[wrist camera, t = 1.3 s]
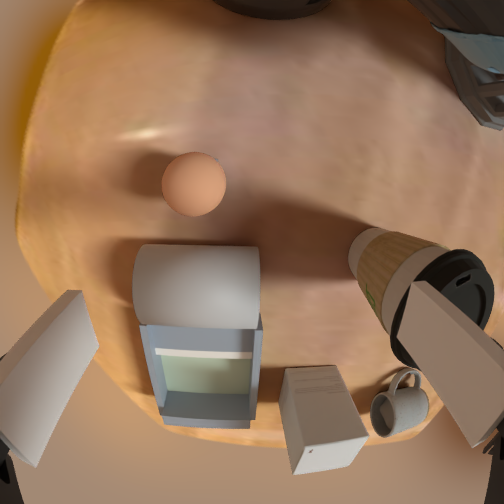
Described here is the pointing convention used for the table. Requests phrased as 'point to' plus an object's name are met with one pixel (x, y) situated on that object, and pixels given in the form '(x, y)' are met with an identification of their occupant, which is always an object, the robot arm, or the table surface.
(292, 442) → the supplement box
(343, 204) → the table surface
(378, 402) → the ceramic mug
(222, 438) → the table surface
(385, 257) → the coffee cup
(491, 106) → the lantern
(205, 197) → the ball
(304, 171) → the table surface
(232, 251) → the grey molded pieces
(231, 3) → the robot arm
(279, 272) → the table surface
